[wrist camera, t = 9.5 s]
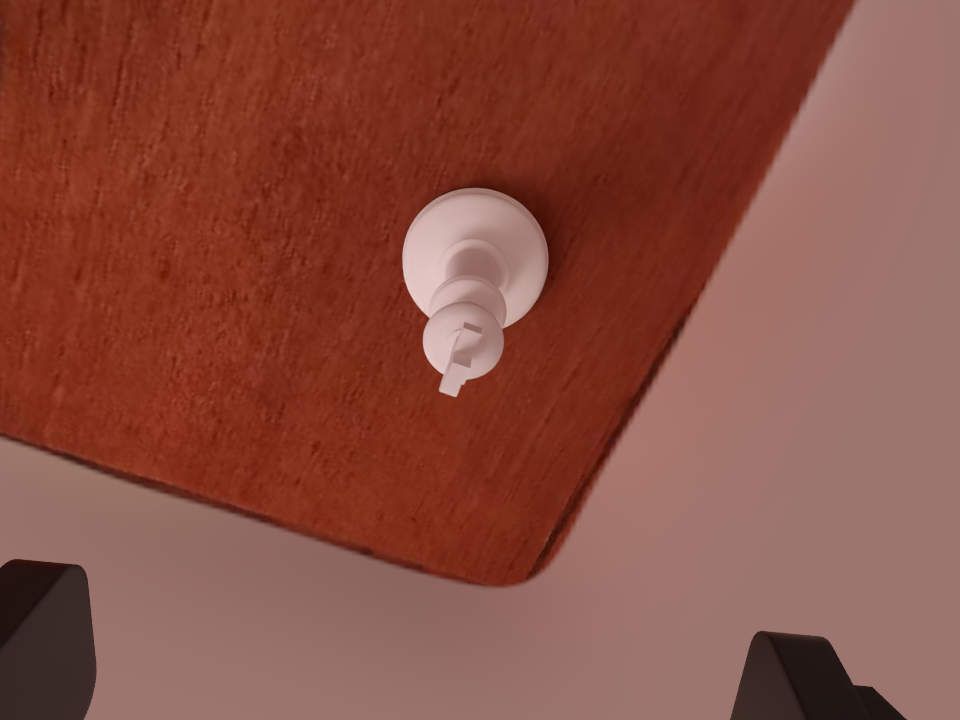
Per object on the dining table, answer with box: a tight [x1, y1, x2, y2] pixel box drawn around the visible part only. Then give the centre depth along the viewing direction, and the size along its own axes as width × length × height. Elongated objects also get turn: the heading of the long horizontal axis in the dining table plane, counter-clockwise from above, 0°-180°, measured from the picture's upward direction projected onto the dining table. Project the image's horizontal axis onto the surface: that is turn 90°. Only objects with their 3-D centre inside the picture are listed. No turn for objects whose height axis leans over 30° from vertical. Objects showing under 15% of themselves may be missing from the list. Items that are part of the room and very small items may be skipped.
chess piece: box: [402, 188, 549, 397], centre depth 23 cm, size 5×5×10 cm
